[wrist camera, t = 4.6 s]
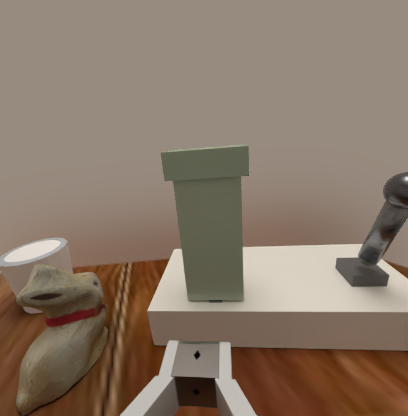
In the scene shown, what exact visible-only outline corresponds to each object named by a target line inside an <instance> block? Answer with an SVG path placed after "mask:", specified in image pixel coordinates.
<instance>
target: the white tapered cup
mask: <svg viewBox="0 0 408 416" xmlns="http://www.w3.org/2000/svg"><path fill="white" fill-rule="evenodd" d="M40 264H43V265H49V266H53V267H56V268H59V269H62V270H65V271H67V272H70V273H73V271H72V265H71V260H70V254H69V249H68V244H67V241H66V240H65V239H63V238H48V239H44V240H38V241H34V242H31V243H28V244H25V245H22V246H19V247H17V248H14V249H12V250H10V251H9V252H7V253H5V254H3V255H2V256H1V257H0V271H1V272H2V274H3V276H4V277H5V279H6V281H7V282H8V284H9V286H10V287H11V289H12V290H13V292H14V294H15V295H16V297H17V295H18V294H19V293H20V291H21V290H22V289H23V288H24V287H25V286H26V285H27V283H28V281H29V278H30V275H31V272H32V270H33V267H34V265H40ZM23 309H24V310H25V312H28V313H30V314H33V313H42V312H43V311H40V310H38V309H35V308H31V307H23Z"/></svg>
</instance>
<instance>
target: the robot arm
mask: <svg viewBox="0 0 408 416" xmlns="http://www.w3.org/2000/svg"><path fill="white" fill-rule="evenodd" d="M179 406H198V407H209V408H217V409H218V412H219V414H220V416H257V415H256V414H255V412H254V410H253V409H252V407H251V405H250V404H249V402H248V400H247V399H246V397H245V395H244V394H243V392H242V390H241V389H240V387H239V385H238V384H237V382H236V380H234V379H232V364H231V344H230V342H203V341H199V342H192V341H171V340H169V342H168V344H167V347H166V350H165V354H164V358H163V361H162V365H161V369H160V372H159V376H155V377H154V378H153V379H152V380H151V381H150V383H149V384H148V385H147V386H146V387H145V388H144V389H143V390H142V391H141V393H140V394H139V395H138V396H137V397H136V398H135V399H134V400H133V402H132V403H131V404H130V405H129V406H128V407H127V408H126V409H125V410H124V412H123V413H122V414H121V415H120V416H174V415H175V413H176V412H177V410H178V408H179Z"/></svg>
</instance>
